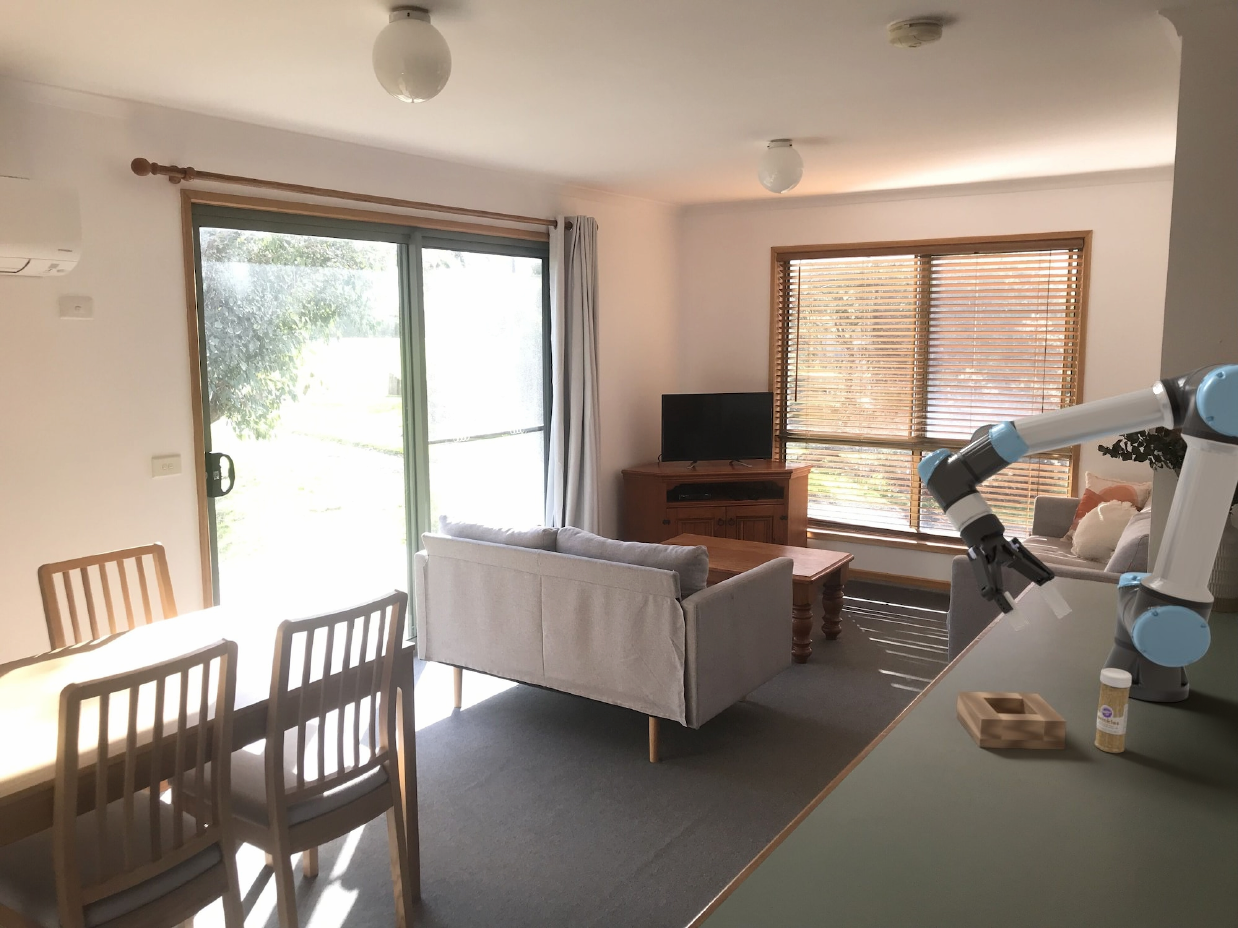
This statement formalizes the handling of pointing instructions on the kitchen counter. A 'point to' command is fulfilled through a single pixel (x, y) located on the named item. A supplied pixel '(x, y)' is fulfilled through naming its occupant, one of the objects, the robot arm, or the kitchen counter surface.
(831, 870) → the kitchen counter surface
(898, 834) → the kitchen counter surface
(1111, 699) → the sprinkles bottle
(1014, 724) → the brown wooden square frame
